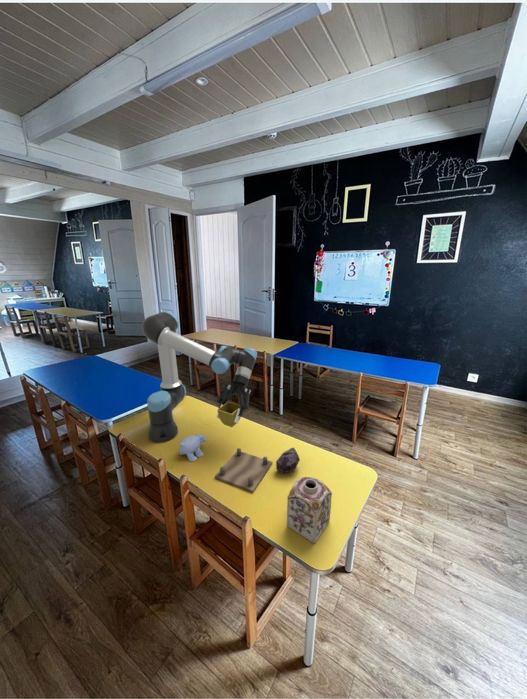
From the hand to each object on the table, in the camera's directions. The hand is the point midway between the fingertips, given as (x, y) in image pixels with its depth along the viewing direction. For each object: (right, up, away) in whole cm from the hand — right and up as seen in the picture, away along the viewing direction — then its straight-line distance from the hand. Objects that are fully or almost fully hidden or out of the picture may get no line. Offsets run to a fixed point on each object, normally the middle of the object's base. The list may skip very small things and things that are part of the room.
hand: (227, 420), depth 134 cm
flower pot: (+1, -3, +4) cm, 5 cm away
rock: (+29, -21, -5) cm, 36 cm away
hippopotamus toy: (-17, -18, +6) cm, 25 cm away
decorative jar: (+34, -29, -32) cm, 55 cm away
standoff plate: (+9, -21, -7) cm, 24 cm away
